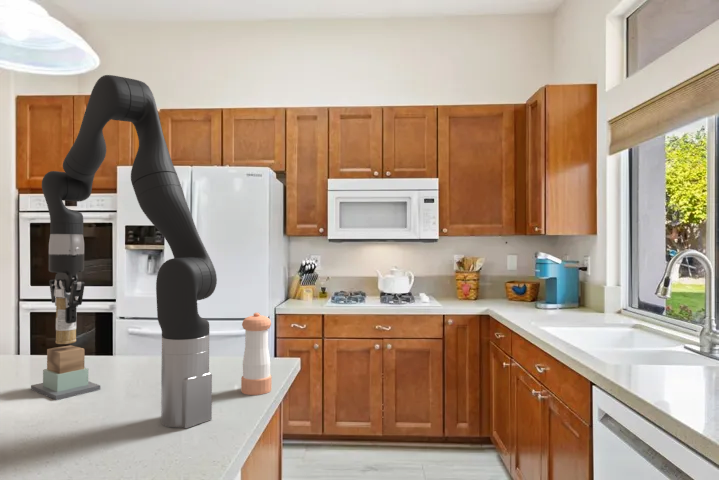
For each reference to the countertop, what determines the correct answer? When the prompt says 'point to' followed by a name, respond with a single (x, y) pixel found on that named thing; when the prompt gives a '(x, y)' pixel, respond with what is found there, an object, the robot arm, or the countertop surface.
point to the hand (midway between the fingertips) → (66, 321)
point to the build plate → (64, 393)
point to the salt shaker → (256, 356)
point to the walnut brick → (65, 359)
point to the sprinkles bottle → (63, 322)
